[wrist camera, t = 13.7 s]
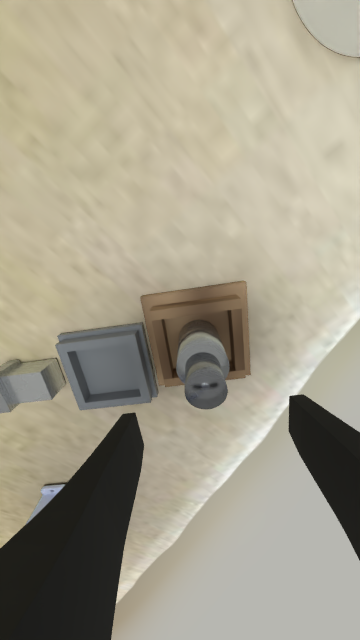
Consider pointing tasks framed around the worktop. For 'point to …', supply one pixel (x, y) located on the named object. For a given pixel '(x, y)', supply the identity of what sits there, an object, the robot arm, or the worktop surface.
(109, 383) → the grey square tray
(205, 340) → the stepped metal cylinder
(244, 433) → the worktop surface
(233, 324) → the brown square tray
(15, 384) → the grey stepped block
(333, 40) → the mug
